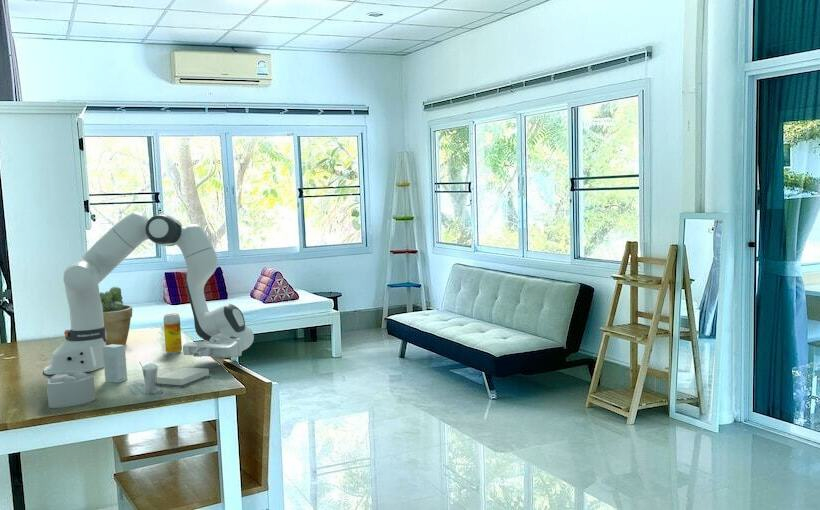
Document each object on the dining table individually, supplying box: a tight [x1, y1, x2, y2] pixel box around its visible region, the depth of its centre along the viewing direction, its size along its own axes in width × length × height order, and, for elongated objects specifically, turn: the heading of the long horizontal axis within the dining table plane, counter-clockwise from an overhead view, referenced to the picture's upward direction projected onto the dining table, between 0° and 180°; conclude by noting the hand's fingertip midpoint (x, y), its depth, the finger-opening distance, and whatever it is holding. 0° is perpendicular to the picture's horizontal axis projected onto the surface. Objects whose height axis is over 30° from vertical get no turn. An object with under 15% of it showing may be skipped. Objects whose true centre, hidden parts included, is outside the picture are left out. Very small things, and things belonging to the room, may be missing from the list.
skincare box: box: [103, 344, 128, 384], centre depth 249 cm, size 6×4×12 cm
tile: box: [157, 366, 210, 385], centre depth 247 cm, size 2×10×14 cm
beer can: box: [163, 313, 183, 355], centre depth 290 cm, size 6×6×15 cm
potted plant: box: [99, 286, 133, 346], centre depth 308 cm, size 18×19×25 cm
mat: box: [157, 375, 211, 388], centre depth 246 cm, size 14×12×1 cm
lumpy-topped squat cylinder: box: [46, 371, 96, 409], centre depth 226 cm, size 10×13×9 cm
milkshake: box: [139, 361, 158, 395], centre depth 232 cm, size 5×5×10 cm
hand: (196, 354), depth 253 cm, fingers closed
